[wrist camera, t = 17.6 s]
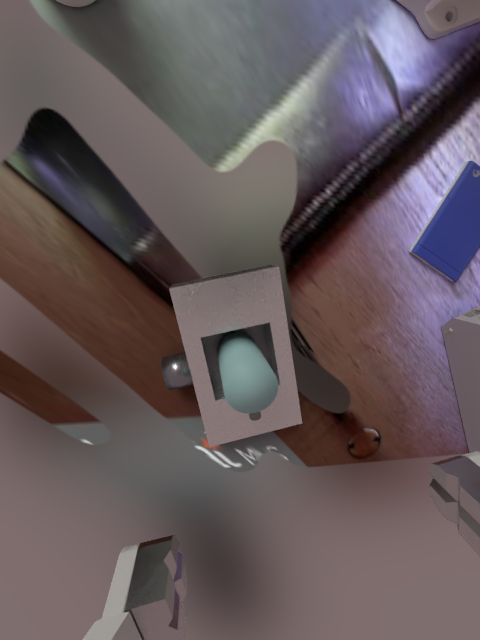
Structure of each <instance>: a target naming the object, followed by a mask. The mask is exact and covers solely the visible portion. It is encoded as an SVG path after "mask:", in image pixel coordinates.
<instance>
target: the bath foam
mask: <svg viewBox="0 0 480 640" xmlns="http://www.w3.org/2000/svg"><path fill="white" fill-rule="evenodd" d="M56 1H58V2H60V3H62V4H64V5H67V6H72V7H83V6H87V5H89V4H91V3H93V2H94V1H96V0H56Z"/></svg>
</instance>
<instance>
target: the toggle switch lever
mask: <svg viewBox="0 0 480 640" xmlns="http://www.w3.org/2000/svg"><path fill="white" fill-rule="evenodd" d="M217 356H218V362H219V368H220V374H221V379H222V385H223V391H224V396H225V399H226V401H227V403H228V404H229V405H230V406H231V407H232V408H233V409H235V410H236V411H238V412H241V413H249V417H250V419H251V420H253V421H256V420H259V419H260V418H261V412H260V411H262V410H264V409H265V408H267V407H268V406H269V405H270V404H271V403H272V402H273V401H274V399H275V397H276V395H277V392H278V380H277V377H276V375H275V373H274V372H273V370H272V369H271V367H270V365H269V364H268V362H267V360H266V359H265V357H264V356H263V354H262V352H261V351H260V349H259V347H258V346H257V344H256V343H255V341H254V340H253V338H251V337H250V336H249V335H247V334H245V333H232V334H229V335H227V336H226V337H224V338H223V339H222V341H221V342H220V344H219V346H218V349H217Z"/></svg>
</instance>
